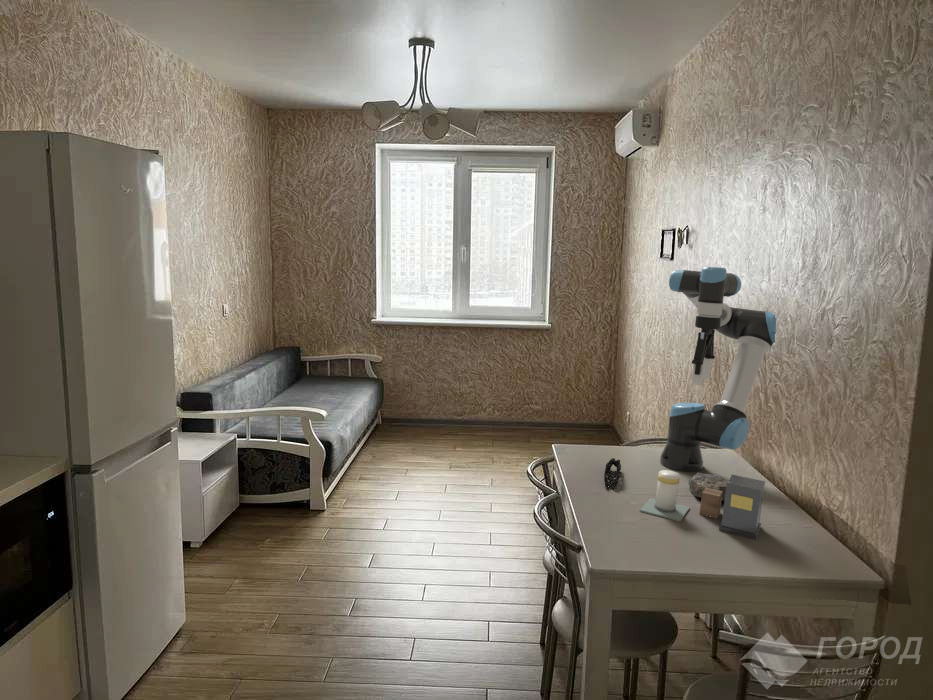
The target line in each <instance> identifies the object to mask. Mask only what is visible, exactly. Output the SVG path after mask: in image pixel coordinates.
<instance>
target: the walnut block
mask: <svg viewBox="0 0 933 700" xmlns="http://www.w3.org/2000/svg"><path fill="white" fill-rule="evenodd" d="M722 493H723V491H719V490H714V489H710V488H705V489H704V490H703V492H702V498H700V499H701V500H700V507H699V515H700V514H703V515H702V516H704V515H707V516H706V517H708V516H711V517H710V518H712V517H714V518H713V519H716V518H717V519H718V517H719V516H720V514H719V513H721V507H722V502H721V501H722ZM718 515H719V516H718Z"/></svg>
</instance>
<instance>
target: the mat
mask: <svg viewBox="0 0 933 700" xmlns="http://www.w3.org/2000/svg"><path fill="white" fill-rule="evenodd" d="M655 501H656V498H653V497H650V498H649V499H648V500H647V501H646V502H645V503H644V505H643V506H641V508H640V509H639V512H641V513H645V514H649V515H653V516H656V517H661V518H665V519H668V520H672V521H676V522H682V520H683V518H685V516H686V514H688V511H689V510H690V506H686V505H682V504H677V503H676V511H674V512H663V511H659V510H657V509H656V508H655ZM688 509H689V510H688Z"/></svg>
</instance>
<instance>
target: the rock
mask: <svg viewBox="0 0 933 700" xmlns="http://www.w3.org/2000/svg"><path fill="white" fill-rule="evenodd" d="M727 482H728V481H726V480H725V478H724V477H723V476H722V475H717V474H709V473H702V472H697V473H696V474H694V475H693V476H692V477H690V479H689V480H688V483H687V484H688V486H689V489H690V490H691V492H692V493H693V495H694V496H695V497H698V498H700V499H701V498H702V492H703V490H704V489H705V488H710V489H714V490H719V491H723V493H722V501H723V502H722V503H724V501H725V493H726V485H727Z"/></svg>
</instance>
